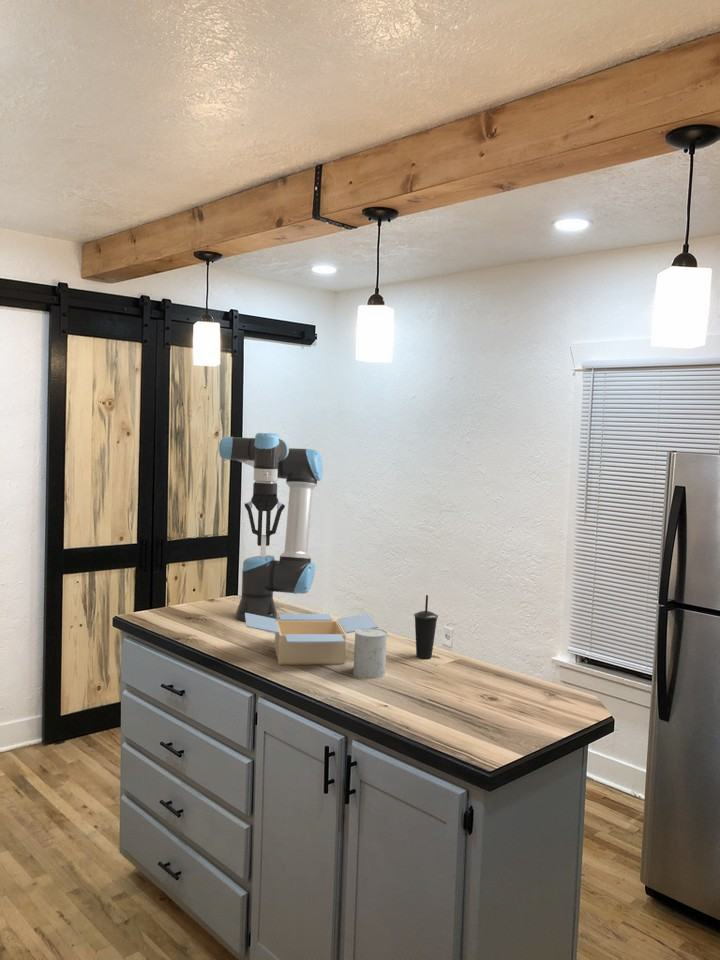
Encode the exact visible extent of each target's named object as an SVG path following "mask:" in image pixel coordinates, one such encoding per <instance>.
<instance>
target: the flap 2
mask: <svg viewBox="0 0 720 960" xmlns="http://www.w3.org/2000/svg"><path fill="white" fill-rule="evenodd" d="M337 622H338V624H339V625H340V627H341V629H342V630H343V632H344V633H345V634H352V633H355V631H356V630H358V629H363V628H374V629H379V626H378V625H377V624H376V623H375V622H374V620H373V619H372V617H371V616H370V615H369V614H368V613H364V614H359V615H353V616H352V615H351V616H348V617H341V618H337Z"/></svg>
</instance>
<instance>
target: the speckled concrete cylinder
mask: <svg viewBox="0 0 720 960" xmlns="http://www.w3.org/2000/svg"><path fill="white" fill-rule="evenodd" d="M387 637H388V632H387V631H386V630H384V629H380V628H376V629H374V628H363V629H358V630H356V631H355V632H354V651H353V671H352V673H353V675H354V676H356V677H359V678H363V679H371V680H372V679H380V678H383V677H385V676H386V666H387V665H386V662H387V643H388V642H387V640H388V638H387Z"/></svg>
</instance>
